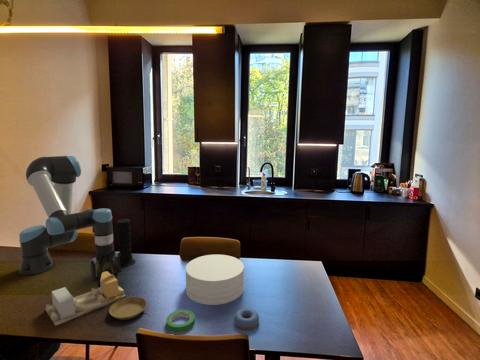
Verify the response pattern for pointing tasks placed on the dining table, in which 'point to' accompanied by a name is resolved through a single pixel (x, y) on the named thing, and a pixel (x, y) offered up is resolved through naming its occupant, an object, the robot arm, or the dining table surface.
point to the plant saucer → (128, 308)
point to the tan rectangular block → (109, 285)
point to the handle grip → (125, 242)
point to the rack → (85, 304)
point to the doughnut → (246, 318)
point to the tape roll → (180, 327)
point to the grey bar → (63, 302)
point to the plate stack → (214, 279)
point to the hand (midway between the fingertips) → (107, 290)
